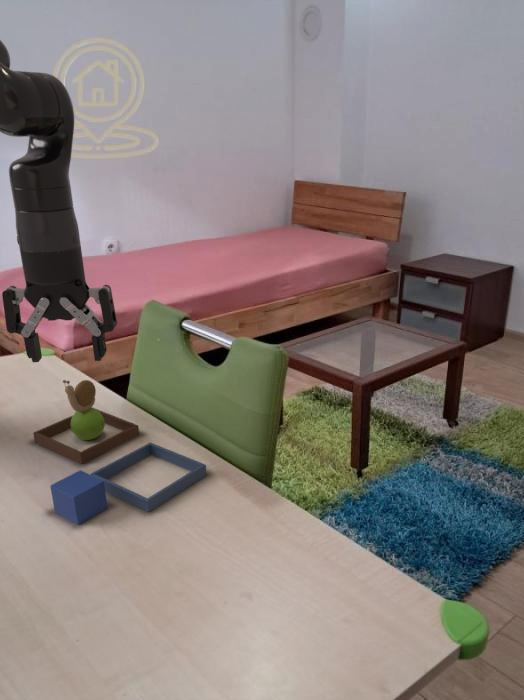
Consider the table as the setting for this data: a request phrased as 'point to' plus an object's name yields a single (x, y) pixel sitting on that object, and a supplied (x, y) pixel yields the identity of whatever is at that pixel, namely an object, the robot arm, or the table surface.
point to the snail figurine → (84, 410)
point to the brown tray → (81, 457)
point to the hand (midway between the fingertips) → (68, 359)
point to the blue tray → (163, 495)
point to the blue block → (79, 497)
